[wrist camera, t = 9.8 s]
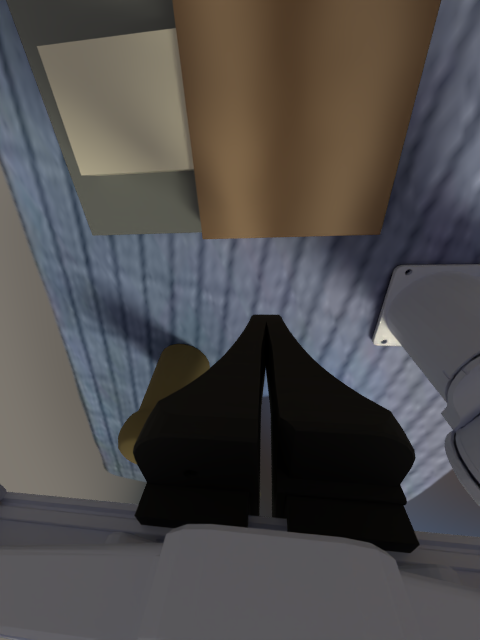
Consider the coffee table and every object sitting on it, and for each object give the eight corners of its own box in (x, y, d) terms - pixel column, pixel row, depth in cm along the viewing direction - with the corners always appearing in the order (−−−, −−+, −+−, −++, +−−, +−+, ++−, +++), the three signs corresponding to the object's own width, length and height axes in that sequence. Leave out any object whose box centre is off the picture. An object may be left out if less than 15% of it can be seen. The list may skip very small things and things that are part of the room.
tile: (188, 46, 13) (177, 27, 12) (201, 169, 16) (194, 168, 15) (64, 61, 14) (36, 46, 13) (99, 175, 17) (81, 175, 16)
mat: (171, -56, 12) (168, -63, 11) (205, 231, 19) (204, 232, 19) (2, -25, 13) (-6, -31, 13) (95, 234, 20) (92, 235, 20)
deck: (437, -105, 10) (492, -198, 8) (364, 226, 18) (380, 234, 15) (180, -58, 12) (156, -124, 9) (211, 231, 19) (202, 239, 16)
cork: (190, 336, 25) (145, 429, 16) (219, 373, 28) (193, 472, 18) (150, 353, 27) (88, 444, 18) (179, 386, 30) (139, 481, 20)
